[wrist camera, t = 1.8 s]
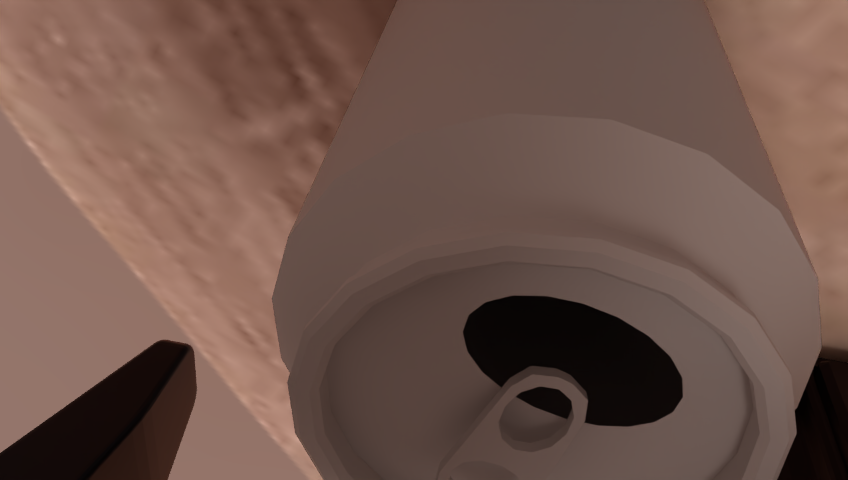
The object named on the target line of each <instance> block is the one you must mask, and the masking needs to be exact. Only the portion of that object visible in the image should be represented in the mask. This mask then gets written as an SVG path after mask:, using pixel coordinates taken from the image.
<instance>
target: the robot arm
mask: <svg viewBox="0 0 848 480" xmlns="http://www.w3.org/2000/svg"><path fill="white" fill-rule="evenodd" d="M196 391H197V384H196V370H195V358H194V351H193V348H192V347H191V345H188V344H186V343H180V342H175V341H170V340H160V341H157V342H156V343H154V344H153V345H151V346H150V347H148V348H147V349H146V350H144V351H143V352H142V353H140V354H139V355H137V356H136V357H134V358H133V359H132V360H130V361H129V362H127V363H126V364H125V365H123V366H122V367H120V368H119V369H118V370H116V371H115V372H113V373H112V374H111V375H109V376H108V377H106V378H105V379H104V380H103V381H101V382H99V383H98V384H96V385H95V386H94V387H92V388H91V389H90V390H88V391H87V392H85V393H84V394H82V395H81V396H80V397H78V398H77V399H75V400H74V401H73V402H71V403H70V404H68V405H67V406H66V407H64V408H63V409H62V410H60V411H59V412H57V413H56V414H54V415H53V416H52V417H50V418H49V419H47V420H46V421H45V422H43V423H42V424H40V425H39V426H38V427H36V428H35V429H34V430H32V431H30V432H29V433H28V434H26V435H25V436H23V437H22V438H21V439H20V440H18V441H16V442H15V443H14V444H12V445H11V446H9V447H8V448H7V449H5V450H4V451H2V452H1V453H0V480H168V477H169V474H170V471H171V468H172V465H173V463H174V460H175V457H176V454H177V451H178V449H179V446H180V443H181V440H182V437H183V434H184V431H185V429H186V426H187V423H188V420H189V418H190V415H191V412H192V409H193V406H194V403H195V399H196ZM795 420H796V431H797V434H796V436H795V438H794V441H793V443H792V446H791V448H790V450H789V453H788V455H787V457H786V460H785V462H784V465H783V467H782V469H781V472H780V474H779V476H778V479H777V480H848V363H846V362H840V361H835V360H830V359H824V358H819V357H818V358H817V360H816V363H815V365H814V368H813V370H812V373H811V375H810V377H809V380H808V382H807V385H806V387H805V390H804V392H803V395H802V397H801V399H800V402H799V404H798V407H797V408H796V409H795Z"/></svg>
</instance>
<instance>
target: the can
mask: <svg viewBox="0 0 848 480" xmlns="http://www.w3.org/2000/svg"><path fill="white" fill-rule="evenodd" d="M272 302H273V309H274V315H275V321H276V328H277V334H278V340H279V347H280V353H281V358H282V360H283V362H284V363H285V365H286V367H287V369H288V370H289V372H290V376H289V379H288V382H287V383H288V389H289V396H290V402H291V409H292V415H293V421H294V428H295V433H296V435H297V437H298V438H299V440H300V442H301V443H302V445H303V447H304V448H305V450H306V451H307V453H308V455H309V456H310V458H311V460H312V461H313V463H314V465H315V466H316V468H317V470H318V471H319V473H320V475H321V476H322V478H323V479H324V480H777V479H778V476H779V474H780V472H781V469H782V467H783V465H784V462H785V460H786V457H787V455H788V453H789V450H790V448H791V446H792V443H793V441H794V438H795V436H796V434H797V431H796V420H795V409H796V408H797V407H798V404H799V402H800V399H801V397H802V395H803V392H804V390H805V387H806V385H807V382H808V380H809V377H810V375H811V373H812V370H813V368H814V365H815V363H816V360H817V358H818V355H819V353H820V351H821V348H822V339H821V323H820V306H819V290H818V278H817V275H816V273H815V270H814V268H813V266H812V263H811V261H810V258H809V256H808V253H807V251H806V248H805V246H804V244H803V241H802V239H801V236H800V234H799V231H798V229H797V226H796V224H795V222H794V219H793V217H792V214H791V212H790V209H789V207H788V204H787V202H786V200H785V197H784V195H783V192H782V190H781V187H780V185H779V182H778V180H777V178H776V175H775V173H774V170H773V168H772V165H771V163H770V161H769V158H768V156H767V153H766V151H765V148H764V146H763V143H762V141H761V139H760V136H759V134H758V131H757V129H756V126H755V124H754V121H753V119H752V117H751V114H750V112H749V109H748V107H747V104H746V102H745V99H744V97H743V95H742V92H741V90H740V87H739V85H738V82H737V80H736V77H735V75H734V73H733V70H732V68H731V65H730V63H729V60H728V58H727V55H726V53H725V51H724V48H723V46H722V43H721V41H720V38H719V36H718V33H717V31H716V29H715V26H714V24H713V21H712V19H711V16H710V14H709V11H708V9H707V7H706V4H705V2H704V1H703V0H397V2H396V4H395V6H394V9H393V11H392V13H391V15H390V17H389V19H388V22H387V24H386V26H385V28H384V30H383V32H382V35H381V37H380V39H379V41H378V43H377V45H376V48H375V50H374V52H373V54H372V56H371V58H370V61H369V63H368V65H367V67H366V69H365V72H364V74H363V76H362V78H361V80H360V82H359V85H358V87H357V89H356V91H355V93H354V95H353V98H352V100H351V102H350V104H349V106H348V108H347V111H346V113H345V115H344V117H343V119H342V121H341V124H340V126H339V128H338V130H337V132H336V134H335V137H334V139H333V141H332V143H331V145H330V148H329V150H328V152H327V154H326V156H325V158H324V161H323V163H322V165H321V167H320V169H319V171H318V174H317V176H316V178H315V180H314V182H313V184H312V187H311V189H310V191H309V193H308V195H307V197H306V200H305V202H304V204H303V206H302V208H301V211H300V213H299V215H298V217H297V219H296V221H295V224H294V226H293V228H292V230H291V232H290V234H289V237H288V240H287V244H286V248H285V251H284V255H283V259H282V263H281V266H280V270H279V274H278V278H277V281H276V285H275V289H274V292H273V296H272Z"/></svg>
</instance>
